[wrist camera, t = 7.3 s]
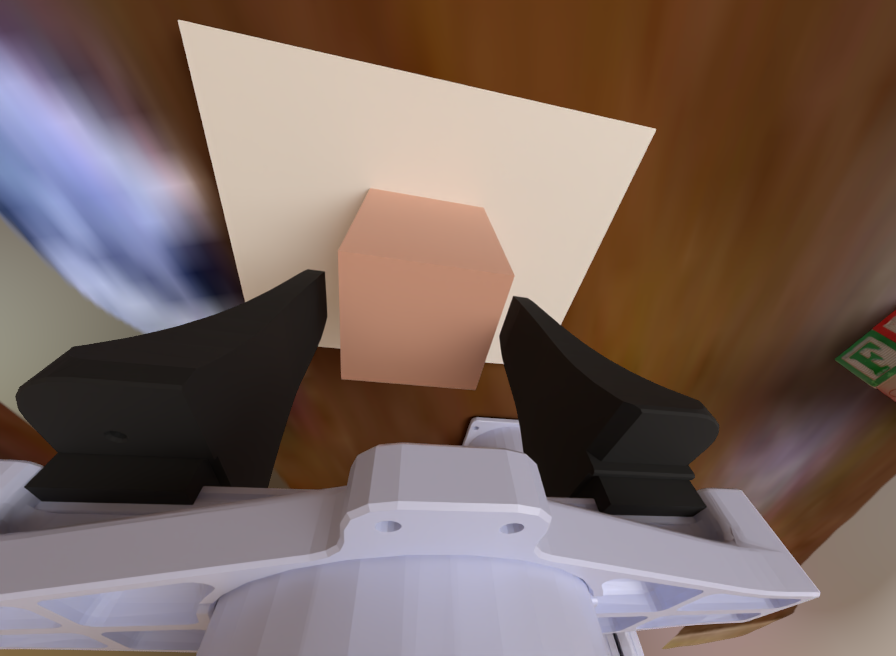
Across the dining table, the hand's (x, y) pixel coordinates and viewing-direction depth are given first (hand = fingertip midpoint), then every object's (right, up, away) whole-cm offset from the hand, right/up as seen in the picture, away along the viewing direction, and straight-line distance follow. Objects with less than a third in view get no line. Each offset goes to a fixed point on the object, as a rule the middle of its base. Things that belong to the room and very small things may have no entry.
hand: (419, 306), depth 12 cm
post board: (0, +4, +5) cm, 6 cm away
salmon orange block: (0, +3, +4) cm, 5 cm away
